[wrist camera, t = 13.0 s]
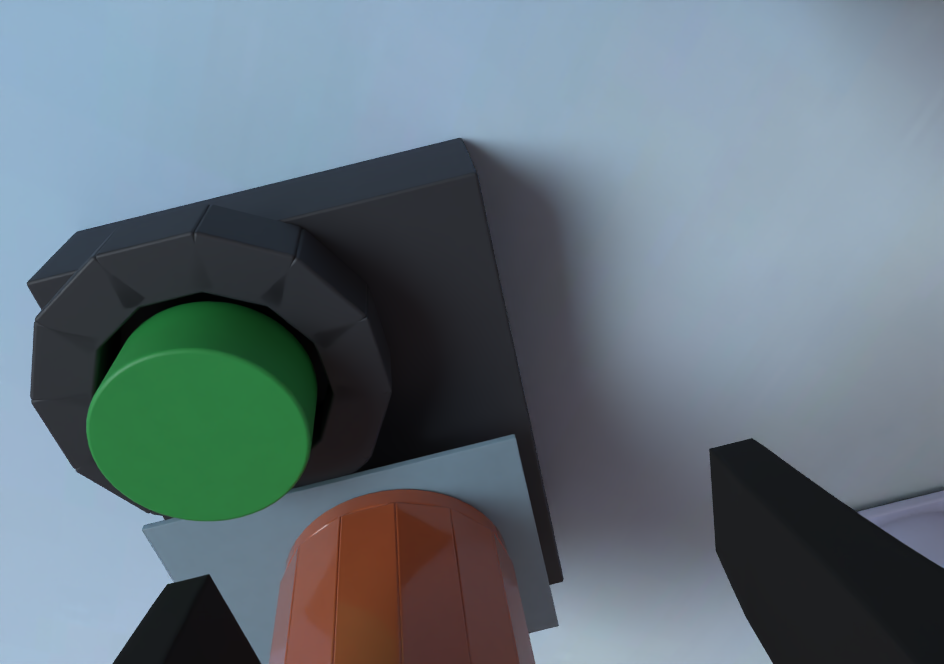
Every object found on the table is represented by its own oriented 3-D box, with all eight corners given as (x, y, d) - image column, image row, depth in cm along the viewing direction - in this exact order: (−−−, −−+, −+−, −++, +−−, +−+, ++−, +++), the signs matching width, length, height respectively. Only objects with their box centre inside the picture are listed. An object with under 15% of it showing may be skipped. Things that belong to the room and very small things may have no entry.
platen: (557, 620, 19) (558, 626, 19) (248, 697, 19) (247, 702, 19) (514, 433, 16) (515, 438, 16) (143, 524, 16) (141, 530, 16)
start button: (341, 436, 16) (337, 495, 14) (166, 478, 16) (142, 544, 14) (281, 278, 14) (268, 326, 12) (81, 327, 14) (42, 381, 12)
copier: (544, 512, 23) (578, 628, 20) (253, 583, 23) (230, 714, 20) (455, 107, 17) (480, 161, 13) (52, 206, 17) (-45, 289, 13)
